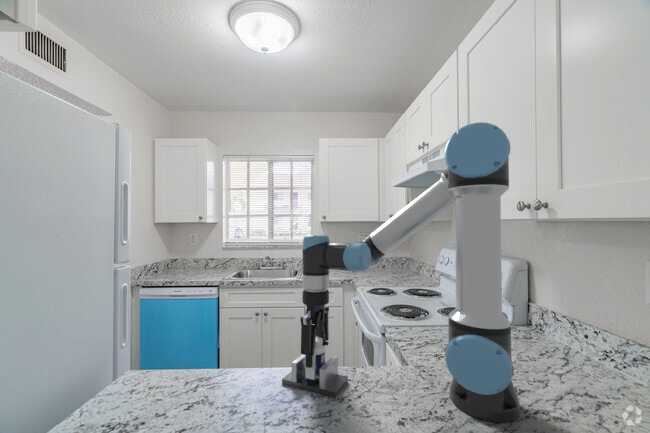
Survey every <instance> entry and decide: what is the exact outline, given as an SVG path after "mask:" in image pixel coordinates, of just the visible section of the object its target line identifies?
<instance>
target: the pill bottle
mask: <svg viewBox="0 0 650 433" xmlns="http://www.w3.org/2000/svg"><path fill="white" fill-rule="evenodd" d="M322 344H323V339H322V338H321V337H316V340H315V348H314V354H316V379H317V378H320V368H321V367H322V366H323V365H324V364H325V363H326V347H325V348H324V346H323V345H322Z"/></svg>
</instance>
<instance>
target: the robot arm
mask: <svg viewBox="0 0 650 433" xmlns="http://www.w3.org/2000/svg"><path fill="white" fill-rule="evenodd" d="M444 148H445V149H444V161H445V164H446V166H447V168H446V169H445V170H443V171H442V172H441V173H440V178H439V180H437V181H436V182H435V183H433V184H432V185H430V186H429V187H428V188H427V189H426V190H424V191H423V192H422V193H421V194H419V195H418V196H417V197H416V198H414V199H413V200H412V201H410V202H409V203H407V204H406V205H405V206H404V207H403V208H402V209H400V210H399V211H398V212H397V213H396V214H394V215H392V217H390V218H389V219H388V220H386V221H384V223H383V224H381V225H380V226H378V227H377V228H376V229H375V230H374V231H373V232H371V233H370V234H369V235H368V236H367V237H365V238H364V239H363V240H361V241H355V242H354V241H353V242H332V241H330V238H329V236H328V235H325V234H323V235H322V234H321V235H320V234H317V235H316V234H310V235H309V234H308V235H305V236H303V239H302V250H301V252H302V278H301V280H302V289H303V290H302V295H301V296H302V297H301V298H302V304H303V305H305V306H306V311H305V315H304V316H303V315H302V316H300V319H299V320H300V326H301V327H300V328H301V329H300V332H301V334H300V354H301V355H302V354H304V355H306V360H305V378H308V379H312V380H315V379H316V354H314V348H315V340H316V337H321V338H322V339H323V344H322V345H323V346H324V348H325V349H326V346H329V337H330V336H329V314H330V312H329V311H330V308H329V306H327V305H328V304H329V302H330V291H329V290H328V289H329V288H330V270H334V271H335V270H336V271H344V272H345V271H347V272H352V273H355V272H356V273H357V272H365V271H366V272H367V271H368V269H369V268H370V266H371V267H372V266H375V265H376V264H378V263H379V262H380V261H381V259H382V258H383V257H384V256H386V254H389V253H390V252H391V251H392V250H394V249H395V248H397V247H398V246H399V245H401V243H403V242H405V241H406V240H407V239H409V238H410V237H411V236H413V235H415V234H416V233H417V232H419V231H420V230H421V229H422V228H424V227H425V226H427V224H429V223H431V222H432V221H433V220H435V219H437V217H439V216H441V215H442V214H443V213H444V212H446V211H447V210H449V209H450V208H451V207H452V206H455V308H454V309H453V310H451V311H450V312H449V313H448V321H447V322H448V327H447V328H448V335H447V336H448V340H447V341H448V342H447V345H446V347H445V352H444V357H445V363H446V367H447V370H448V371H449V373H450V376H452V379H451V383H450V385H449V398H450V400H451V402H452V404H454V405H455V406H456V407H457V408H458V409H459V410H461V411H462V412H464V413H465V414H467V415H470V416H472V417H475V418H476V419H480V420H483V421H488V422H492V423H493V422H494V423H510V422H514V421H516V420H518V419H519V417H520V416H521V404H520V399H519V397H518V394H517V391H516V388H515V386H514V383H513V381H512V378H513V376H514V370H515V369H514V364H513V361H512V322H511V320H509V316H508V314H507V313H506V312H504V311H503V300H502V299H503V298H502V296H503V294H502V291H503V290H502V288H503V286H502V284H503V283H502V280H503V279H502V220H501V218H502V214H501V210H502V208H501V198H502V196H503V195H504V194H505V193H506V192H507V191H509V189H510V172H509V170H510V169H509V168H510V166H509V165H510V164H509V163H510V162H509V161H510V159H509V157H510V153H511V141H510V140H509V138H508V136H507V134H506V133H505V132H504V130H503V129H501V128H500V127H499V126H497V125H494V124H493V123H488V122H482V121H481V122H473V123H469V124H466V125H464V126H462V127H461V128H459V129H457V130H456V131H455V132H454V133H452V135H451V136H450V137H449V139H448V141H447V142H446V145H445V147H444Z"/></svg>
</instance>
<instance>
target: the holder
mask: <svg viewBox="0 0 650 433" xmlns="http://www.w3.org/2000/svg"><path fill="white" fill-rule="evenodd" d="M305 360H306V355H304V354H301V355H300V356H298V357H296V359H294V360H293V361H292V362H291V371H290V372H289V373H287V374H286V375H285V376H284V377H282V380H281V385H282V386H286V387H291V388H292V389H293V388H294V389H298V390H303V391H306V392H310V393H313V394H316V395H321V396H325V397H329V398H332V399H336V398H338V396H339V395H340V393H341V392H342V390H343V389H344V388H345V387H346V385H347V383H348V382H349V381H348V380H349V376H347V375H342V374H339V356H337V355H332V356H331V357H330V358H329V359H328V360H327V361H325V364H324V365H323V366H322V367H321V368H320V378H317V379H315V380H312V379H308V378H305Z"/></svg>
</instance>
